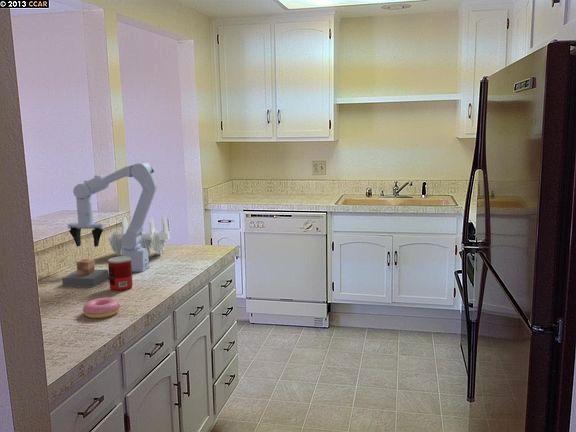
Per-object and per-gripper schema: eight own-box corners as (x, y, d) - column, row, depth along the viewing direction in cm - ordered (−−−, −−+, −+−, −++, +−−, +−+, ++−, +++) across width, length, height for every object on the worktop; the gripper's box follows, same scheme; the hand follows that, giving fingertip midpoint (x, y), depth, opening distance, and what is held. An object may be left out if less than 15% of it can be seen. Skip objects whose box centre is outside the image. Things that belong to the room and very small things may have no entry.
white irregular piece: (119, 261, 240) (172, 258, 241) (106, 253, 223) (164, 250, 224) (120, 223, 245) (172, 220, 246) (107, 213, 228) (164, 209, 229)
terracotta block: (94, 272, 197) (93, 259, 196) (88, 275, 192) (87, 262, 192) (83, 271, 197) (82, 259, 197) (77, 275, 193) (76, 262, 192)
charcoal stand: (108, 277, 200) (108, 269, 200) (93, 286, 189) (93, 278, 188) (79, 276, 202) (78, 269, 201) (62, 285, 190) (62, 278, 189)
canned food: (137, 286, 189) (135, 256, 187) (123, 292, 181) (121, 262, 180) (119, 284, 191) (117, 255, 189) (105, 290, 184) (103, 260, 182)
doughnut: (127, 313, 161) (126, 300, 161) (93, 323, 154) (92, 309, 153) (109, 305, 169) (108, 293, 168) (76, 314, 161) (75, 301, 160)
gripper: (62, 214, 204) (65, 248, 207) (97, 214, 203) (99, 248, 205) (71, 211, 211) (74, 244, 214) (105, 212, 210) (107, 244, 212)
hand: (87, 246), depth 210 cm, fingers open, 7 cm apart
